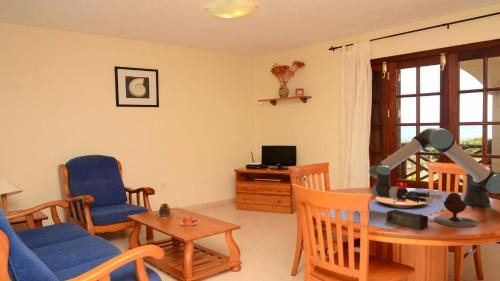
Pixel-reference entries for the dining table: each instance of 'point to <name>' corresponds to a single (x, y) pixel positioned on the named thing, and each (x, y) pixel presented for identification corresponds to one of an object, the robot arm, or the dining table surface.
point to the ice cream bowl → (454, 205)
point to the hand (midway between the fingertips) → (437, 198)
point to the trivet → (463, 222)
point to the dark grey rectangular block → (407, 219)
